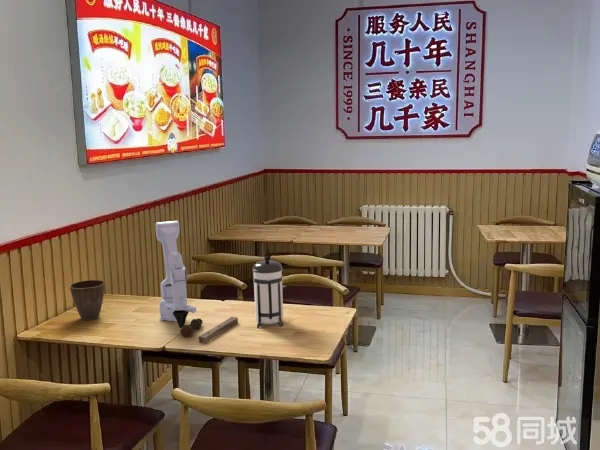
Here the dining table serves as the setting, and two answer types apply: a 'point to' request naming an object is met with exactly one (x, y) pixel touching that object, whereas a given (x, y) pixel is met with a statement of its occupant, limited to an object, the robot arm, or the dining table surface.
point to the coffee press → (268, 292)
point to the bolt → (190, 328)
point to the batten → (218, 330)
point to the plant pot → (88, 298)
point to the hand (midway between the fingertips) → (181, 326)
